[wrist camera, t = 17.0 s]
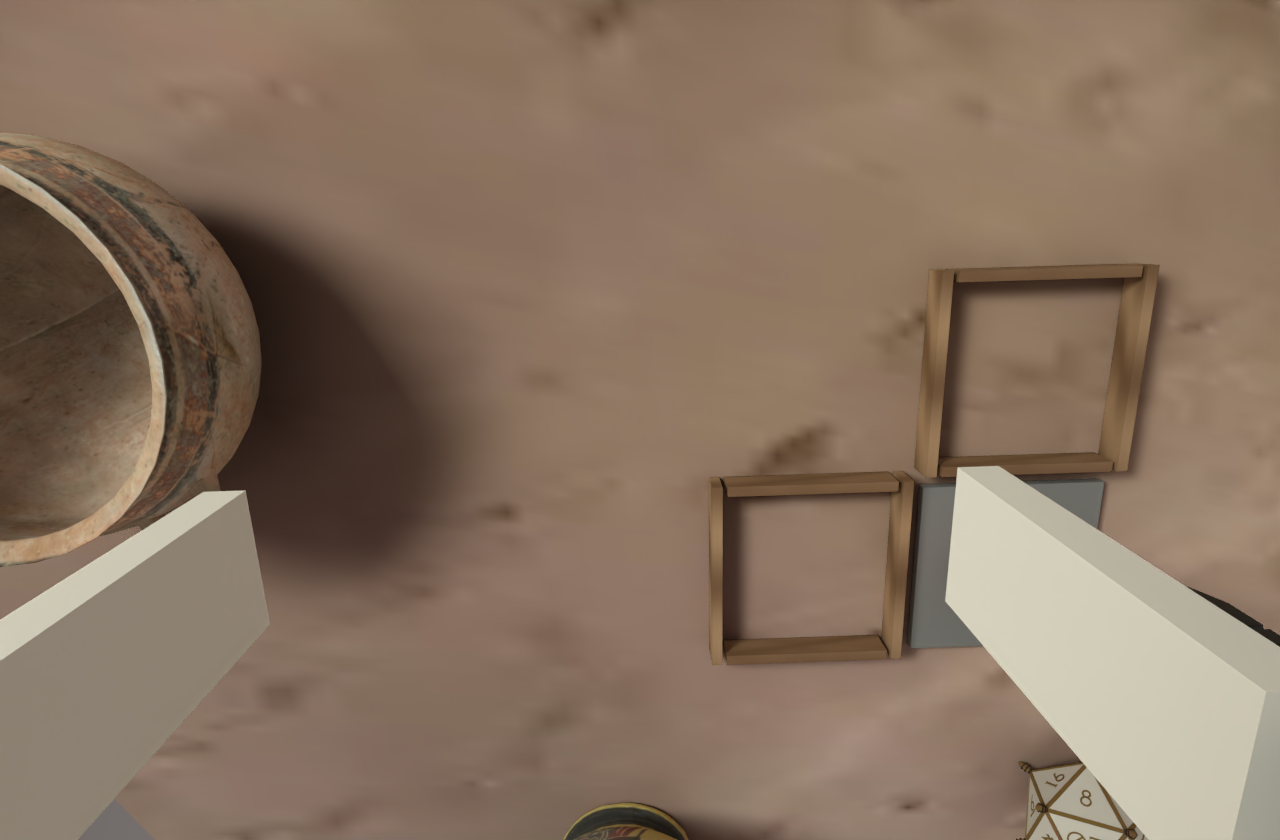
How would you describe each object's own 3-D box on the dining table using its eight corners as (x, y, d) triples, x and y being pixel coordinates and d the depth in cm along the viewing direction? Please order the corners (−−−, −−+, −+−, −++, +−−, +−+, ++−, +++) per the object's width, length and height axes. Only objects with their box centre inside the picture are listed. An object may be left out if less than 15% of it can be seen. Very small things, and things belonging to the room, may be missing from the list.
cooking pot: (-152, 224, 39) (-492, 222, 27) (113, 20, 36) (-131, -79, 25) (163, 577, 45) (-3, 704, 33) (410, 421, 42) (326, 496, 30)
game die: (1007, 759, 54) (986, 888, 47) (1040, 694, 49) (1021, 827, 42) (1144, 818, 50) (1142, 967, 43) (1195, 754, 45) (1202, 911, 38)
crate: (709, 477, 43) (712, 487, 42) (902, 471, 44) (914, 481, 42) (709, 648, 47) (712, 665, 45) (890, 642, 47) (900, 658, 45)
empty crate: (929, 269, 40) (943, 271, 39) (1136, 263, 41) (1159, 265, 39) (914, 467, 44) (926, 477, 42) (1107, 461, 44) (1126, 470, 42)
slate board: (919, 484, 44) (923, 487, 43) (1098, 478, 44) (1104, 481, 43) (907, 643, 47) (910, 648, 46) (1074, 637, 47) (1080, 642, 46)
